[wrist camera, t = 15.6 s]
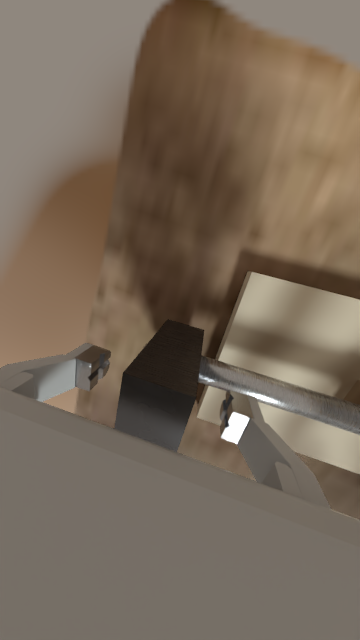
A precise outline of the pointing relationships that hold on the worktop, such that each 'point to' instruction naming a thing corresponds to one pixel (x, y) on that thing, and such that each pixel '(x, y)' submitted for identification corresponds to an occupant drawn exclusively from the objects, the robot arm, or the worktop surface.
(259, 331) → the board
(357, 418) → the hammer
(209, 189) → the worktop surface
